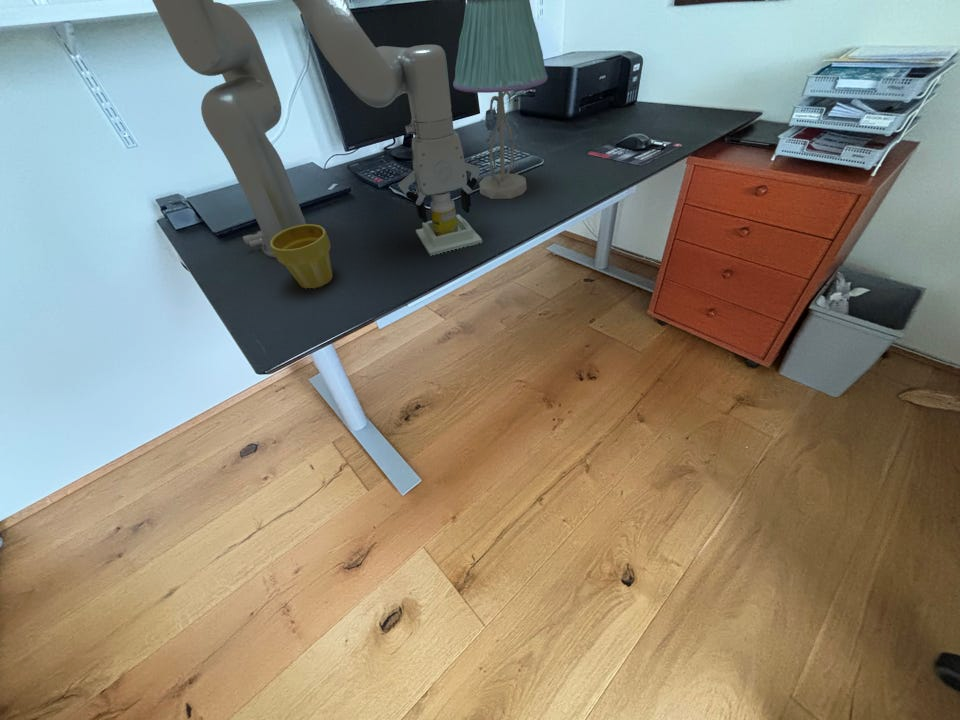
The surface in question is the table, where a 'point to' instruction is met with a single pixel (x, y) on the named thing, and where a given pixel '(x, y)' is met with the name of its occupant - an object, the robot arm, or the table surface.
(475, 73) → the table lamp
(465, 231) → the socket holder
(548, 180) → the table surface
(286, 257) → the plant pot
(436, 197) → the supplement bottle
